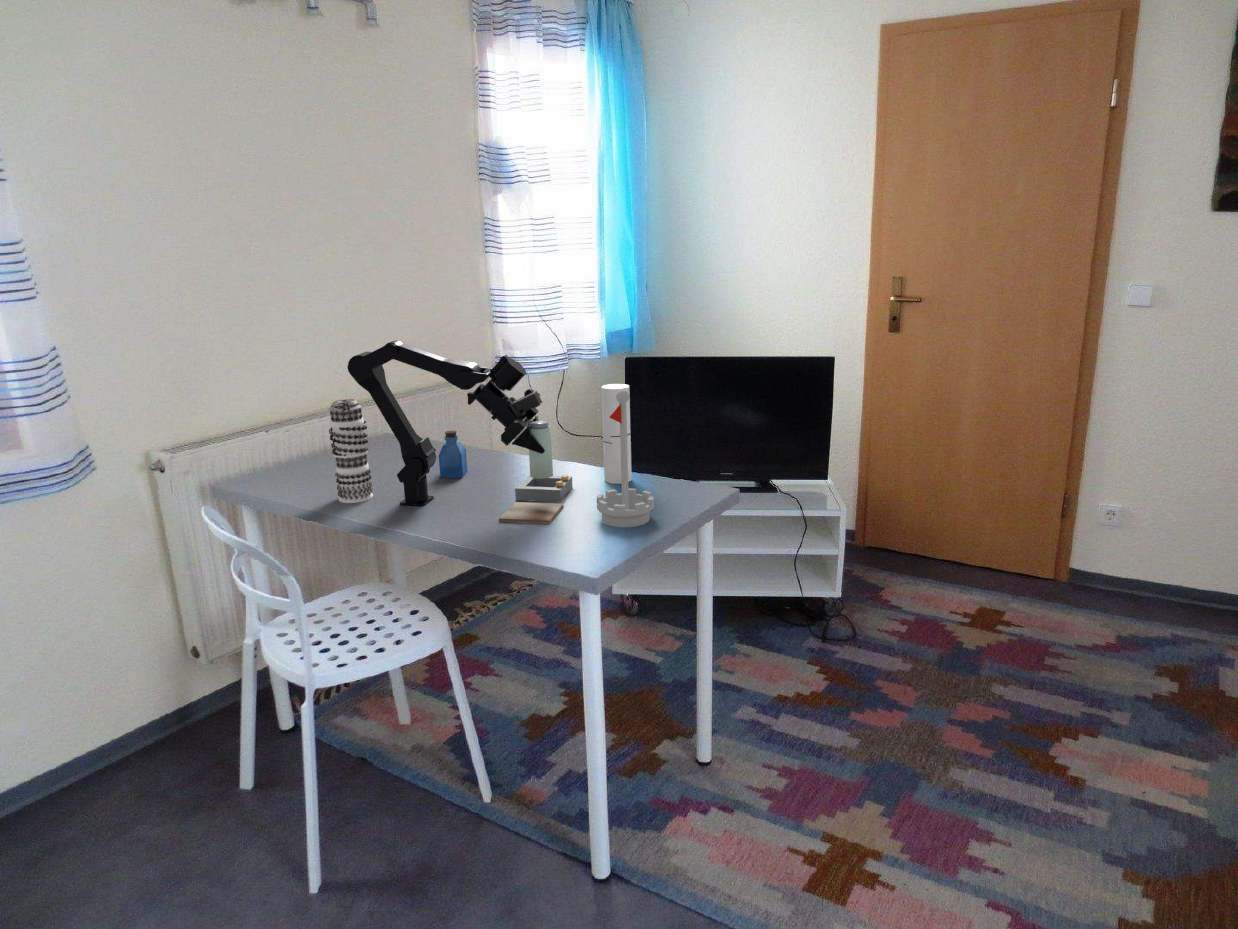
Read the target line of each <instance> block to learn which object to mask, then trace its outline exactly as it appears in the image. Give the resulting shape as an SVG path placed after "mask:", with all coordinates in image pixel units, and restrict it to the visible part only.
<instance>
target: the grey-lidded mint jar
mask: <svg viewBox="0 0 1238 929" xmlns="http://www.w3.org/2000/svg"><path fill="white" fill-rule="evenodd" d="M530 425H531V433H532V434H533V436H534V437H535V438H536V439H537V441H538V442H539V443H540V444H541V446H542V447H543V448H544V450H545V452H544V453H543V454H541V453H538V452H535V451H532V450H529V449H528V456H529V457H528V458H529V475H530V477H532V478H536V479H544V478H549V477H552V476H554V468H553V467H554V465H553V448H552V447H553V443H552V426H551V425H549V422H548V421H545V420H538V421H535V422H531V423H530Z"/></svg>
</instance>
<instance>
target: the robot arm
mask: <svg viewBox="0 0 1238 929" xmlns="http://www.w3.org/2000/svg"><path fill="white" fill-rule="evenodd" d="M392 360H395V361H398V362H401V363H403V364H406V365H409V366H412V367H415V368H417V369H420V370H423V371H426V372H429V373H432V374H434V375H437V376H439V377H442V378H443V379H444V380H445V381H446V382H447V383H448V384H451V385H453V386H454V387H456V388H457V389H458V388H459V389H460V390H463V391H466V390H470V389H472V388H474V387H476V386H477V385H478V384H479V385H478V386H477V387H476V388H475V390H474V391H469V392H467V394H466V396H467V405H469V406H471V405H472V404H474V402H475V401H477V402H478V403H479V404H480V405H481V406H482V407H483V408H484V409H485V410H486V411H487V412H488V413H489V414H491V415H492V416H491V417H490V418H491V420H493V421H495V420H497V421H498V422H499V423H500V424H501V425H502V426H503V427H504V428H503V430H504V431H503V432H502V433H501V434H500V441H501V442H502V443H503V444H504V445H505V446H506V447H507V446H509V445H510V444H511V445H513V446H518V447H521V448H523V449H527V450H528V451H529V450H532V451H535V452H538V453H541V454H543V453H544V452H545V450H544V448H543V447H542V446H541V444H540V443H539V442H538V441H537V439H536V438H535V437H534V436H533V434H532V433H531V425H530V423H531V422H535V421H539V416H538V415H537V414H538V413H539V409H537V408H538V407H540V406H541V404H543V401H542V399H541V393H540V392H538V391H537V390H534V389H533V388H531V387H530V388H528V389H526V390H525V391H524V394H523V395H524V396H522V397H521V398H518V399H517V398H515V397H514V396H511V397H509V396H508V395H507V394H505V393H504V392H505V391H512V390H513V389H514V388H515V387H516V385H517V384H518V383H519V382H520V381H521V380H522V379H523V378H524V377H525V376H526V375H527V371H526V369H525V368H524V366H523V365H522V364H521V363H520V362H519V361H517V360H515V359H513V358H511V357H509V356H508V354H503V355H502V356H501V357H500V358H499V359H498V362H497V363H496V364H495V365H493V367H492V368H491V367H490V368H489V367H483V366H480V365H479V364H478V363H476V362H474V361H468V360H461V359H450V358H446V357H443V356H440V355H437V354H434V353H432V352H428V351H425V350H423V349H419V348H417V347H414V346H411V345H408V344H405V343H403V342H402V341H400V340H392V341H389V342H387V343H386V344H385V345H384V346H382V347H379V348H377V349H375V350H374V351H364V352H361V353H359V354H356V355H353V356H352V357H351V358H350V359H349V361H348V363H347V367H346V368H347V371H348V373H349V375H350V376H351V377H352V378H353V379H354V381H355V382H356V384H358V386H360V387H362V388H363V389H364V390H365V391H366V392H368V393H369V395H370V397H371V398H372V399H373V400H372V401H374V403H375V405H376V406H377V408H378V410H379V412H380V413H381V415H382V417H383V418H384V420H385V421H386V423H387V425H388V427H389V428H390V430H391V431H392V433H393V435H394V436H395V438H396V440H397V442H398V443H399V447H400V454H401V458H402V460H403V461H402V462H403V463H404V466H403V467H402V469H400V471H399V472H398V473H397V474H396V477H397V479H398V481H399V483H403V492H404V493H403V494H404V499H402V500H401V501H399V505H404V506H425V505H426V504H428V503H429V502H431V501H432V500H433V499H435V496H434V495H429V488H428V479H427V475H428V474H429V473H430V471H431V468H432V467H433V466H434V465H435V464H436V462H437V461H436V460H437V455H436V451H437V448H436V447H434V446H433V445H432V442H431V440H430V438H429V436H426V437H425V438H422V437H420V435H418V433H417V432H416V431H415V429H414V428H413V426H412V424H411V422H410V421H409V419H408V417H407V415H406V414H405V413H404V411H403V409H402V407H401V406H400V404H399V402H398V400H397V399H396V397H395V395H394V394H393V391H392V390H391V389H390V386H388V383H387V380H386V379H387V378H386V373H385V368H384V367H383V365H384V364H387V363H389V362H391V361H392ZM489 378H490V380H489V381H488V382H487V383H486V384H483V383H484V382H486V381H487V380H488V379H489Z"/></svg>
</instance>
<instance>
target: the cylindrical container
mask: <svg viewBox="0 0 1238 929" xmlns="http://www.w3.org/2000/svg"><path fill="white" fill-rule="evenodd" d="M620 390H625V391H627V392H628V394H629V400H628V401H627V402H626V414H627V453H628V483H630V482H631V481H632V447H631V446H632V442H631V438H632V437H631V408H630V407H631V402H630V401H631V398H630V397H631V396H630V395H631V394H630V392H631V391H630V385H629V384H625V383H608V384H604V385H602V386H601V408H602V409H601V412H602V413H601V414H602V417H601V418H602V438H603V440H602V443H603V447H602V448H603V475H604V482H605V481H606V482H605V483H608V484H614V485H615V484H616V485H620V484H621V485H622V480H621V444H620V423H619V422H617V421H615V420H613V419H611V418H609V417H610V416H611V415H612V413H613V412H614V411H615V410H616V409H617V407H618V406H619V402H618V401H617V399H616V394H617V392H618V391H620ZM629 481H630V482H629Z"/></svg>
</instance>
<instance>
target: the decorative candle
mask: <svg viewBox="0 0 1238 929" xmlns="http://www.w3.org/2000/svg"><path fill="white" fill-rule="evenodd" d="M362 407H363V405H362V404H360V403H359V402H358V400H356V399H352V398H345V399H338V400H335V401H333V402H332V403H331V405H330V406H329V407H328V408H327V409H328V410H329V412H330V413H329V416H330V421H329V422H330V428H329V430H328V434H329V440H330V441H331V442H332V443H331V446H330V447H331V448H332V449H331V450H332V452H331V454H332V455H333V457H335V463H336V465H335V471H336V472H335V475H334V476H335V477H336V479H335V482H336V483H337V485H336V490H337V496H338V501H339V502H340V503H344V504H356V503H362V502H367V501H369V500H371V499H372V498H374V494H373V491H374V489H373V487H372V486H373V482H372V481H371V479H372V475H370V474H371V471H372V470H371V469H370V468H369V467H370V466H369V462H368V456H367V454H368V453H369V447H366V444H368V443H369V440H368V439H366V438H367V437H368V434H367V433H366V432H364V431H365V430H367V429H368V426H367V425H365V424H366V423H367V421H366V420H364V416H363V411H362Z"/></svg>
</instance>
